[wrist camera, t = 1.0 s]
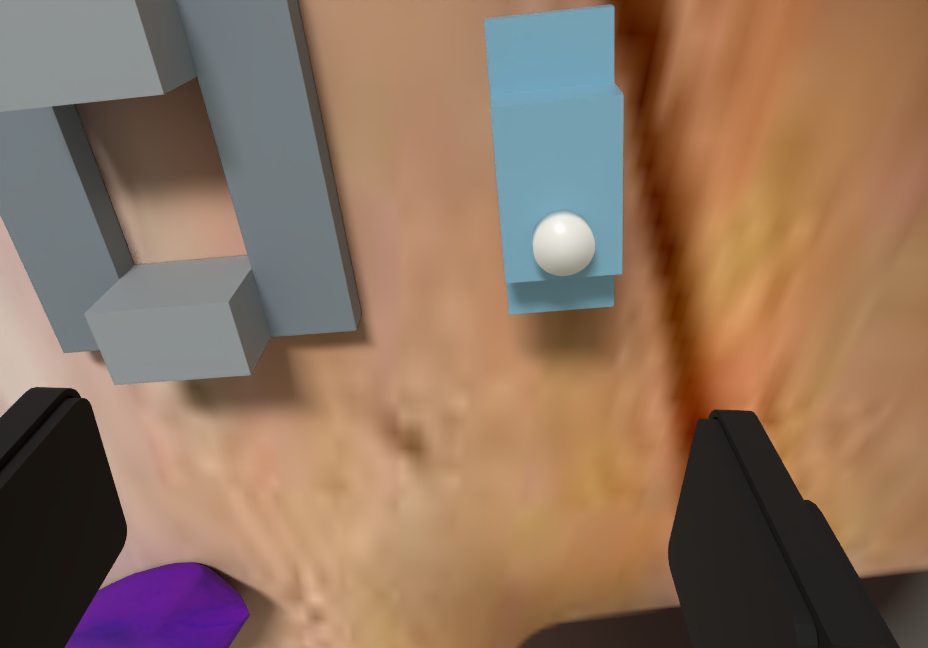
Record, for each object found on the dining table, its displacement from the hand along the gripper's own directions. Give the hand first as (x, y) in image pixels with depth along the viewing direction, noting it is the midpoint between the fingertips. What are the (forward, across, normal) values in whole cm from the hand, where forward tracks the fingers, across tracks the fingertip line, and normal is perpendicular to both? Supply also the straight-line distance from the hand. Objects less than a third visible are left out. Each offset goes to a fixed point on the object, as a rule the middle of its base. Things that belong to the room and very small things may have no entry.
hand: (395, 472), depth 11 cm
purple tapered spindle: (+21, +18, +29) cm, 40 cm away
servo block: (+20, -4, 0) cm, 21 cm away
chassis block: (+20, +12, +2) cm, 24 cm away
